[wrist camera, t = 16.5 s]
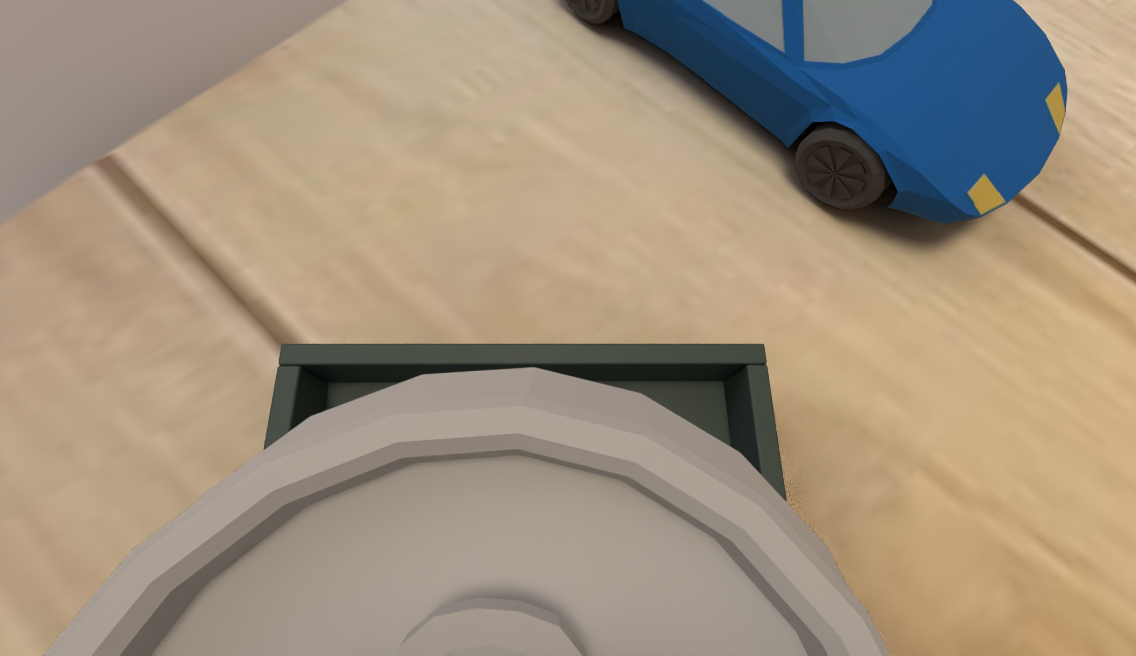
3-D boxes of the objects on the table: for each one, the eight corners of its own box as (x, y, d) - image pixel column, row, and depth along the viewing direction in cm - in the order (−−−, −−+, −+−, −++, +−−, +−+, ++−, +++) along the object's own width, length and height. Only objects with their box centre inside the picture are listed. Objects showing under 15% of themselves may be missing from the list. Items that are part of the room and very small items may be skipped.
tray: (799, 896, 13) (858, 982, 10) (236, 924, 12) (162, 1025, 10) (734, 366, 17) (764, 343, 15) (318, 367, 16) (280, 343, 14)
